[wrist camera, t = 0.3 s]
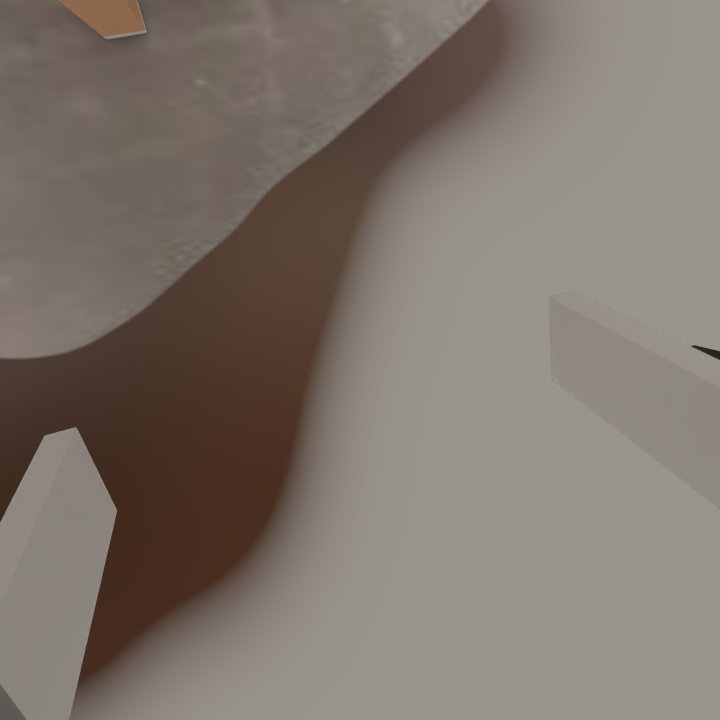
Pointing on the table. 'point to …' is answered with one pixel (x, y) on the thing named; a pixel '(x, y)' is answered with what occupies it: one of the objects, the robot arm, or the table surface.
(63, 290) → the table surface
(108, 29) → the sled
